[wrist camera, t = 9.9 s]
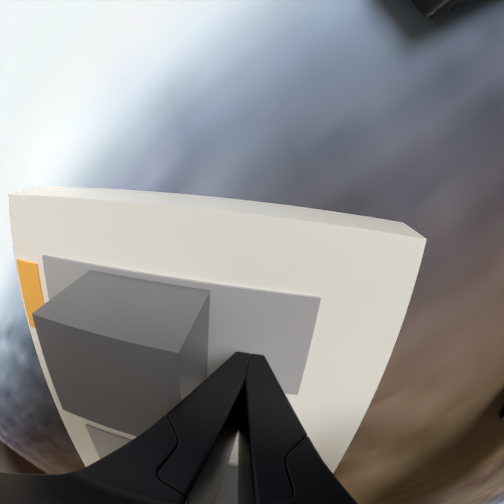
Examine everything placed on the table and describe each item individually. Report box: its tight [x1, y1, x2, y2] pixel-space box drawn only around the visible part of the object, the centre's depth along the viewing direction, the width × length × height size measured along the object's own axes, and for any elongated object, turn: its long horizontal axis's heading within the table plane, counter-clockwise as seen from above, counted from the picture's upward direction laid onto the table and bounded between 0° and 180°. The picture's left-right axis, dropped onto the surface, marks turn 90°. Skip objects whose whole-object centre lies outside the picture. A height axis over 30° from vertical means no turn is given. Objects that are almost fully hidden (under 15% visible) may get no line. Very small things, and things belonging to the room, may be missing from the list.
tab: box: [32, 270, 210, 437], centre depth 8 cm, size 4×4×3 cm
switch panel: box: [9, 186, 426, 473], centre depth 13 cm, size 14×26×2 cm, turn 174°
